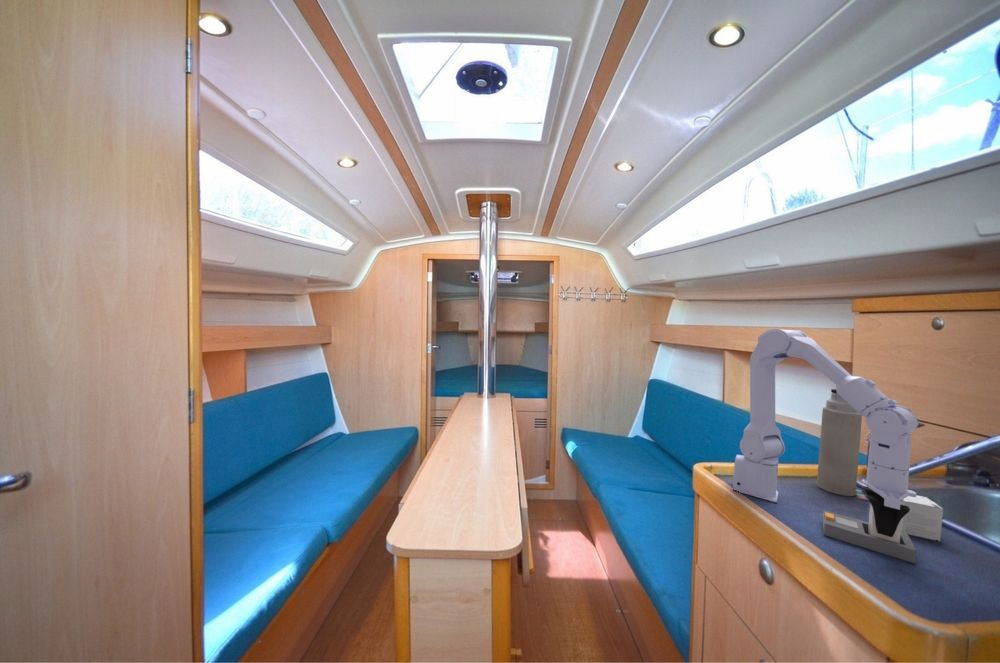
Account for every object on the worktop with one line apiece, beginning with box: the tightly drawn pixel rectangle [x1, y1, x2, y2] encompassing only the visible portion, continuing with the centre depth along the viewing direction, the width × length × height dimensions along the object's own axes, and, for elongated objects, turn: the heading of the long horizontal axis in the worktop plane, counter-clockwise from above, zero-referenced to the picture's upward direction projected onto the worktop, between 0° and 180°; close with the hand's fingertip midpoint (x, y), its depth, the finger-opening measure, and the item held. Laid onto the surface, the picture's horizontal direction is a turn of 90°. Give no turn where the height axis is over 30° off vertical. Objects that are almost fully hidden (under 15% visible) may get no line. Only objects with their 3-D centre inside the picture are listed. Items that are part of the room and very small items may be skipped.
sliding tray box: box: [822, 509, 917, 564], centre depth 76 cm, size 13×8×3 cm, turn 50°
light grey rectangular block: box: [868, 502, 902, 543], centre depth 74 cm, size 4×4×7 cm
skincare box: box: [900, 494, 944, 542], centre depth 80 cm, size 6×6×7 cm
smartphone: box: [854, 488, 870, 503], centre depth 94 cm, size 8×15×1 cm, turn 56°
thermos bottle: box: [816, 388, 863, 497], centre depth 100 cm, size 8×8×28 cm
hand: (882, 529), depth 74 cm, fingers closed on light grey rectangular block, 4 cm apart
